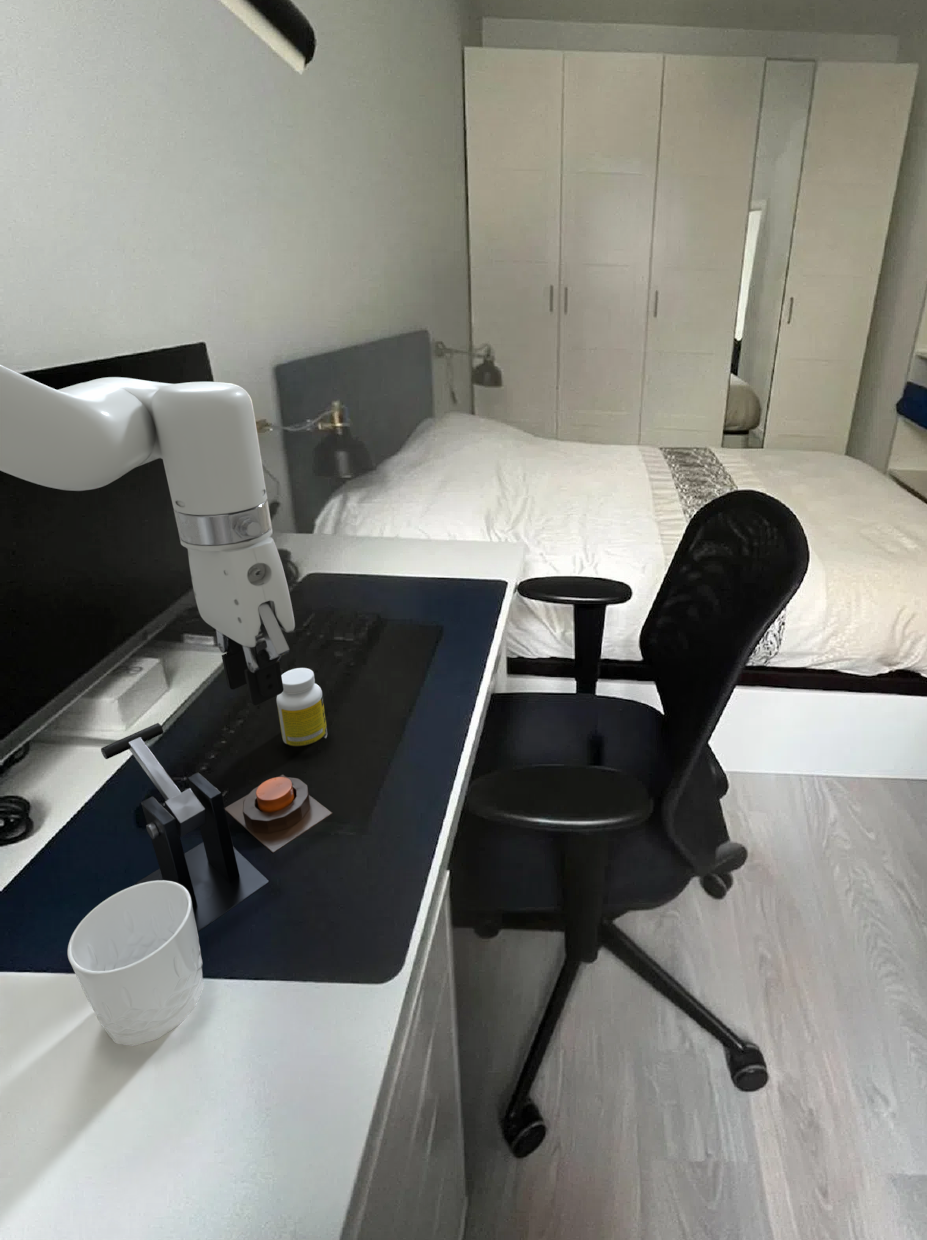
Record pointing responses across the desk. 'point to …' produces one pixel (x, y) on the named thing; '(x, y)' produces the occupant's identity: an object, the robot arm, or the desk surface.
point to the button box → (279, 816)
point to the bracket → (202, 857)
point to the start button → (275, 794)
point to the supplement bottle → (301, 708)
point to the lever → (161, 779)
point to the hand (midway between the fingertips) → (255, 689)
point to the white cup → (140, 961)
